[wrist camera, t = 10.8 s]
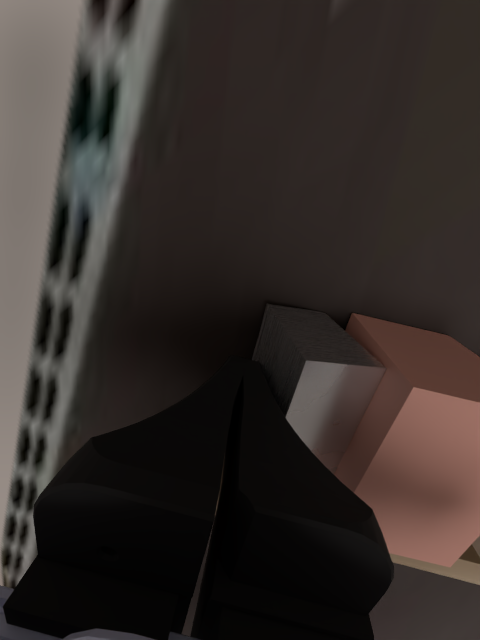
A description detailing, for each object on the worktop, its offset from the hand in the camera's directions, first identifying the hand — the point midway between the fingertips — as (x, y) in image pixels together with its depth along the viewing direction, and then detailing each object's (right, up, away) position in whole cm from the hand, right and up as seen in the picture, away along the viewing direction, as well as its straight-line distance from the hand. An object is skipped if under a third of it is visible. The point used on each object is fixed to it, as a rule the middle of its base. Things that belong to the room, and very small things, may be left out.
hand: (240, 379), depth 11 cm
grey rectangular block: (+2, 0, +1) cm, 2 cm away
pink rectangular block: (+6, 0, +1) cm, 6 cm away
